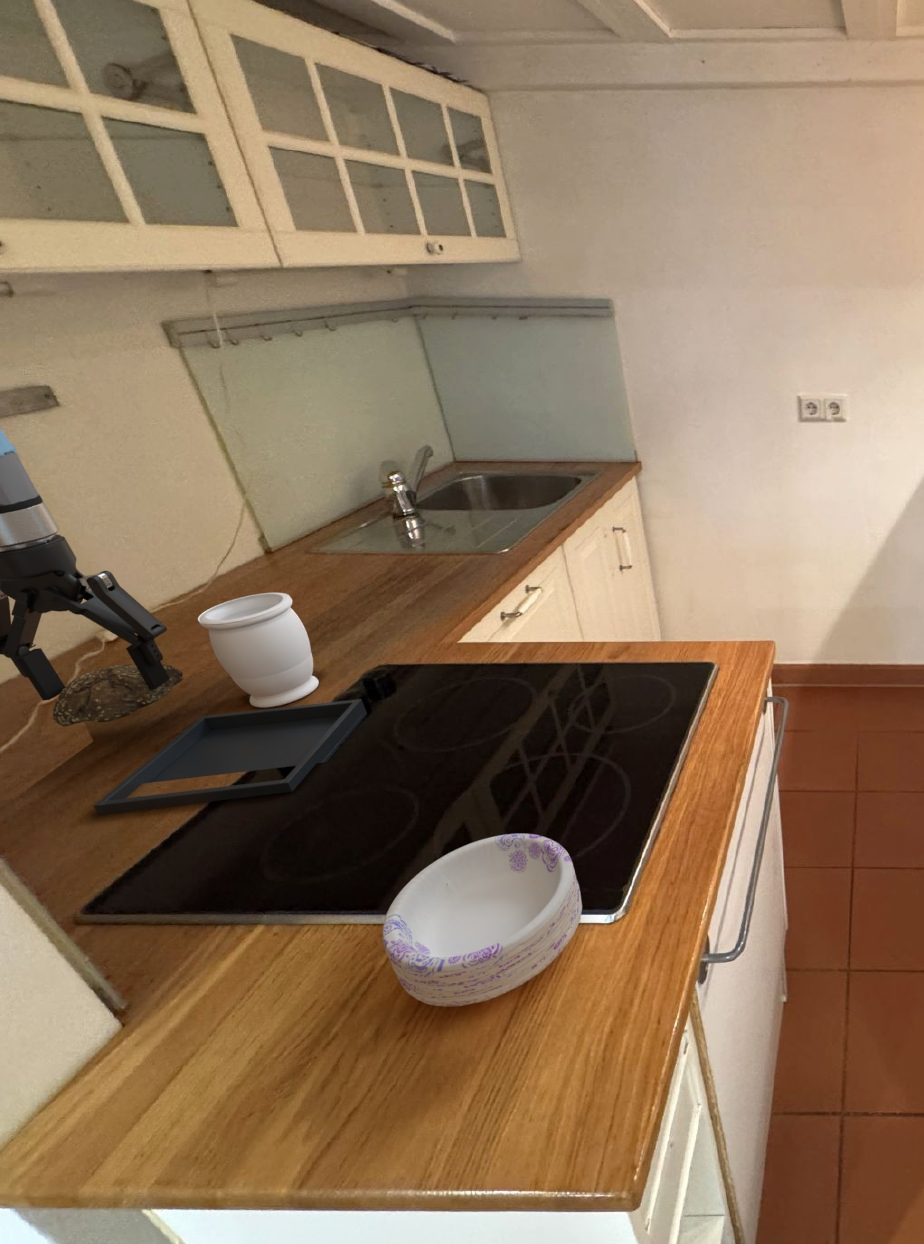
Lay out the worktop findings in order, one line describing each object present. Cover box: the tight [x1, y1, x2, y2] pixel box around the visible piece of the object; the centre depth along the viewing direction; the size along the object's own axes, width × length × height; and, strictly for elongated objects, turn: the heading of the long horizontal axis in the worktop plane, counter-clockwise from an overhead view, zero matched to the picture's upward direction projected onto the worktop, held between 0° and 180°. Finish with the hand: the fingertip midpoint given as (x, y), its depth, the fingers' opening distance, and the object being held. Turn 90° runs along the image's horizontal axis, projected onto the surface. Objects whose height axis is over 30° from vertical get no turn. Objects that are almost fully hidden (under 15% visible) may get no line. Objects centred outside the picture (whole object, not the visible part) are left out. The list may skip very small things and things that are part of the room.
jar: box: [197, 592, 320, 709], centre depth 104 cm, size 11×10×15 cm
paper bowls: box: [382, 833, 583, 1007], centre depth 63 cm, size 15×15×8 cm
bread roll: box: [52, 662, 184, 727], centre depth 95 cm, size 13×12×5 cm
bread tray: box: [93, 698, 368, 816], centre depth 91 cm, size 21×19×3 cm
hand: (108, 689), depth 95 cm, fingers closed on bread roll, 12 cm apart
